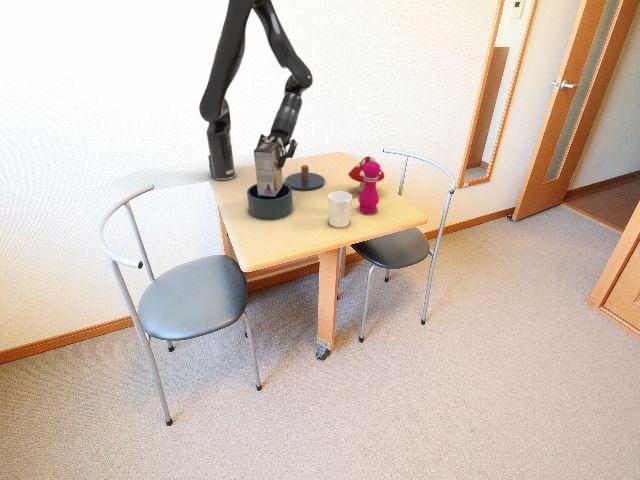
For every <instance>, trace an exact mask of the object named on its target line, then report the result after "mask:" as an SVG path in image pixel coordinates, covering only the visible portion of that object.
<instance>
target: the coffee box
mask: <svg viewBox="0 0 640 480" xmlns="http://www.w3.org/2000/svg"><path fill="white" fill-rule="evenodd" d="M256 147H257V146H256ZM256 147H255V148H254V150H253V157H254V158H253V159H254V167H255V177H256V184H257V188H258V195H263V196H273V197H275V196H276V194H277V193H278V192H279V190H280V189H281V187H282V186H283V184H282V183H283V169H282V168H283V167H282V168H279V167H278V162H279V159H280V156H282V154H281V150H280V143H274V142H268V141H267V142H262V143H261V144H260V145H259V146H258V147H257V148H256Z"/></svg>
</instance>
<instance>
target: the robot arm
mask: <svg viewBox="0 0 640 480" xmlns="http://www.w3.org/2000/svg"><path fill="white" fill-rule="evenodd" d="M226 9H227V10H226V14H225V17H224V21H223V25H222V29H221V32H220V37H219V39H218V41H217V44H216V49H215V53H214V55H213V56H214V57H213V61H212V65H211V69H210V73H209V76H208V81H207V83H206V87H205V89H204V92H203V94H202V97H201V99H200V102H199V107H198V112H199V114H200V116H201V118H202V120H204V121H205V122H207V123H208V126H207V129H206V131H205V132H206V140H207V145H208V146H207V147H208V151H209V154H208V163H209V164H208V167H209V172H210V176H211V178H213V179H214V180H216V181H230V180H232V179H234V178H236V169H235V161H234V155H233V147H232V145H233V144H232V139H231V138H232V137H231V128H232V123H231V122H232V121H231V112H230V110H231V109H230V105H229V103H228V100H227V99H226V95H227V93H228V90H229V88H230V86H231V84H232V83H233V82H234V80H235V78H236V76H237V74H238V72H239V71H240V67H241V65H242V63H243V59H244V55H245V51H246V43H247V41H246V40H247V39H246V38H247V37H246V33H247V32H246V30H247V26H248V25H247V24H248V21H249V18H250V15H251V12H252V10H253V12H254V13H255V15H256V16H257V18H258V19H259V21H260V23H261V25H262V28H263V31H264V34H265V38H266V40H267V44H268V46H269V48H270V51H271V53H272V54H273V55H274V58H275V60H276V62H277V63H278V65H279V67H280V68H281V69H283V70H284V69H288V71H289V72H290V75H289V76H288V78H287V79H286V81H285V85H284V91H283V97H282V100H281V102H280V105H279V108H278V110H277V111H276V114H275V116H274V119H273V122H272V124H271V127H270V132H269V134H268V135H265V134H264V133H261V134H260V136H259V139H258V142H257V144H256V147H255V149H256V148H257V147H258V146H259V145H260V144H261V143H262V142H274V143H280V150H281V156H280V159H279V162H278V167H279V168H284V166H285V163H286V161H287V160H288V159H293V157H294V155H295V152H296V151H297V147H298V144H299V143H298V142H297V141H296V139H295V138H292V137H293V133H294V131H295V129H296V128H295V127H296V125H297V122H298V120H299V119H298V118H299V114H300V112H301V109H302V106H303V99H302V95H303V92H305V91H307V90H308V89H310V88H311V87H312V85H313V83H314V78H313V77H314V76H313V74H312V72H311V70H310V68H309V67H308V66H307V64H306V63H305V62H304V61H303V60H302V58H301V57H300V56H299V55H298V54H297V52H296V50H295V47H294V46H293V44H292V42H291V41H290V39H289V37H288V35H287V33H286V31H285V29H284V27H283V25H282V23H281V21H280V18H279V16H278V14H277V12H276V9H275V6H274V4H273V1H272V0H228V4H227V8H226ZM287 147H288V150H287Z"/></svg>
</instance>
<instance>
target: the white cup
mask: <svg viewBox="0 0 640 480" xmlns="http://www.w3.org/2000/svg"><path fill="white" fill-rule="evenodd" d="M352 202H353V195H352V194H351V193H350V192H347V191H341V190H338V191H337V190H336V191H332V192H330V193H329V194H328V196H327V207H328V208H327V209H328V223H329V224H330V226H332V227H334V228H345V227H347V226H348V225H349V224H350V217H351V211H352Z"/></svg>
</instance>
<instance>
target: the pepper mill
mask: <svg viewBox="0 0 640 480" xmlns="http://www.w3.org/2000/svg"><path fill="white" fill-rule="evenodd" d="M381 170H382V167H381V165H380V164H379V162H377V161H376V158H375V157H373V156H372V157H371V158H370V161H369V162H367V163H365V164H364V166H363V172H364V174H365V175H364V180H365V184H364V188H363V190H362V192H359V196H358V203H359V206H358V207H359V208H358V211H359V212H360V213H362V214H364V215H373V214H376V213H377V209H378V206H377V205H378V204H379V202H380V195H379V192H378V190H377V183H378V182H377V181H378V174H379V173H380V171H381Z"/></svg>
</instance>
